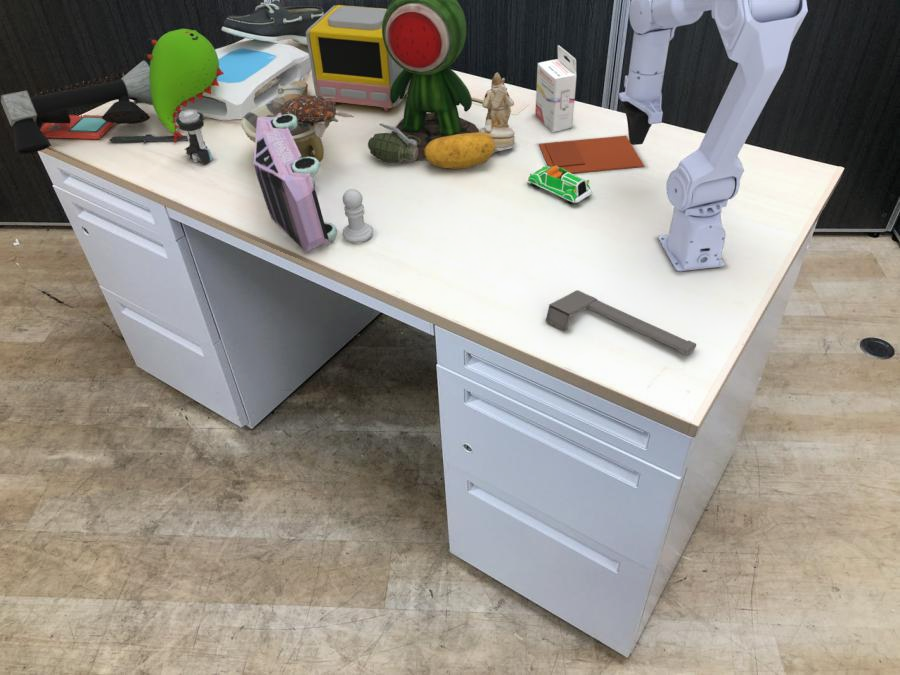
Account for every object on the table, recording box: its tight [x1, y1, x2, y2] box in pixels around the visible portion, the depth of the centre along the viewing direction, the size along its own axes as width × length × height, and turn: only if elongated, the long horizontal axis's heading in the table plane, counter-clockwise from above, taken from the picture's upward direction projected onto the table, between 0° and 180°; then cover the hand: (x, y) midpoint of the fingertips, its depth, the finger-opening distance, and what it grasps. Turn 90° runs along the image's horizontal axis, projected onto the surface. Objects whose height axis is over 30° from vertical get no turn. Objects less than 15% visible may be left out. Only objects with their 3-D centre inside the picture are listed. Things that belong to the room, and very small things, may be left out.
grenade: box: [367, 122, 421, 164], centre depth 150 cm, size 6×7×10 cm
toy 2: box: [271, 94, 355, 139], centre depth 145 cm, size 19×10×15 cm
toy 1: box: [143, 28, 224, 143], centre depth 159 cm, size 13×23×15 cm
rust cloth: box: [538, 135, 645, 175], centre depth 151 cm, size 12×18×1 cm, turn 97°
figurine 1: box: [382, 0, 480, 161], centre depth 148 cm, size 17×20×30 cm
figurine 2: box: [479, 72, 515, 153], centre depth 151 cm, size 7×7×15 cm
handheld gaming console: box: [40, 114, 116, 140], centre depth 166 cm, size 9×1×15 cm
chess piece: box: [341, 188, 374, 243], centre depth 131 cm, size 5×5×9 cm
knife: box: [109, 133, 188, 144], centre depth 162 cm, size 18×1×3 cm
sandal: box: [276, 80, 309, 101], centre depth 170 cm, size 7×16×5 cm, turn 167°
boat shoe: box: [221, 0, 325, 46], centre depth 184 cm, size 11×30×9 cm, turn 146°
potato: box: [424, 131, 495, 170], centre depth 148 cm, size 8×14×7 cm, turn 88°
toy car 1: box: [253, 113, 338, 253], centre depth 133 cm, size 15×25×10 cm
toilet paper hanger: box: [545, 290, 697, 356], centre depth 112 cm, size 20×8×3 cm, turn 49°
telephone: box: [0, 60, 153, 155], centre depth 161 cm, size 15×13×30 cm
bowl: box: [240, 100, 331, 163], centre depth 150 cm, size 18×18×10 cm
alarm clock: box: [306, 4, 410, 112], centre depth 167 cm, size 20×16×18 cm
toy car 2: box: [527, 165, 594, 206], centre depth 141 cm, size 12×5×4 cm, turn 45°
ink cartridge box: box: [534, 44, 577, 133], centre depth 157 cm, size 9×5×15 cm, turn 22°
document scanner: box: [180, 39, 312, 121], centre depth 175 cm, size 21×28×6 cm
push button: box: [175, 109, 213, 166], centre depth 152 cm, size 7×5×10 cm
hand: (636, 142), depth 136 cm, fingers closed
